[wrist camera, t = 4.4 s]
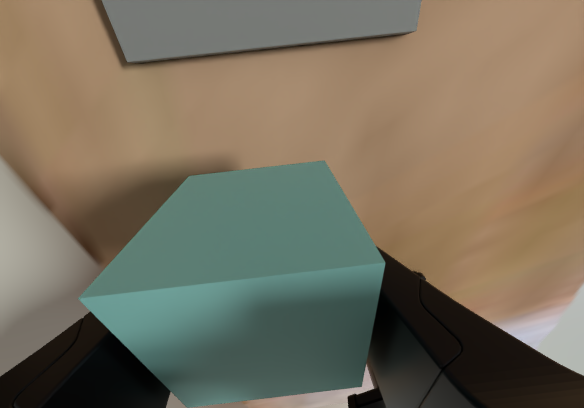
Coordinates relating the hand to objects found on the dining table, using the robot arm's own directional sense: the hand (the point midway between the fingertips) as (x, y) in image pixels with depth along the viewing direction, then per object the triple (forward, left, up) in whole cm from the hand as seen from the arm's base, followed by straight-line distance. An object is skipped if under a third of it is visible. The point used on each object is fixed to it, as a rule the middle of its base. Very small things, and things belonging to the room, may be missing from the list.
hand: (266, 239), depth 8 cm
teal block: (0, 0, -1) cm, 1 cm away
